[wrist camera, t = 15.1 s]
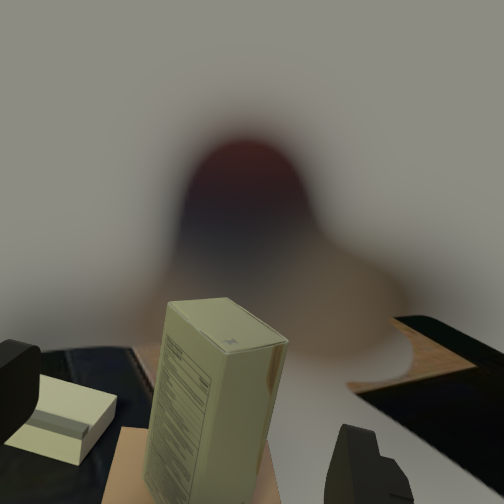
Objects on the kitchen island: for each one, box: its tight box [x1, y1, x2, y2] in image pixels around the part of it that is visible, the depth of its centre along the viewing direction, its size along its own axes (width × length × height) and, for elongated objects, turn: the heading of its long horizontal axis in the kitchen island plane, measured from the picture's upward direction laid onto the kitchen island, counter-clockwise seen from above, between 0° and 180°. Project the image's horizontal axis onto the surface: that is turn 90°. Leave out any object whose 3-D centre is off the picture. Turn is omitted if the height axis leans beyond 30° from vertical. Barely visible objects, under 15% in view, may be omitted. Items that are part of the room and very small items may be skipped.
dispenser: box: [4, 375, 117, 466], centre depth 29 cm, size 10×5×3 cm, turn 82°
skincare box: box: [141, 298, 289, 504], centre depth 23 cm, size 6×4×12 cm
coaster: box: [101, 427, 281, 504], centre depth 25 cm, size 11×11×1 cm
